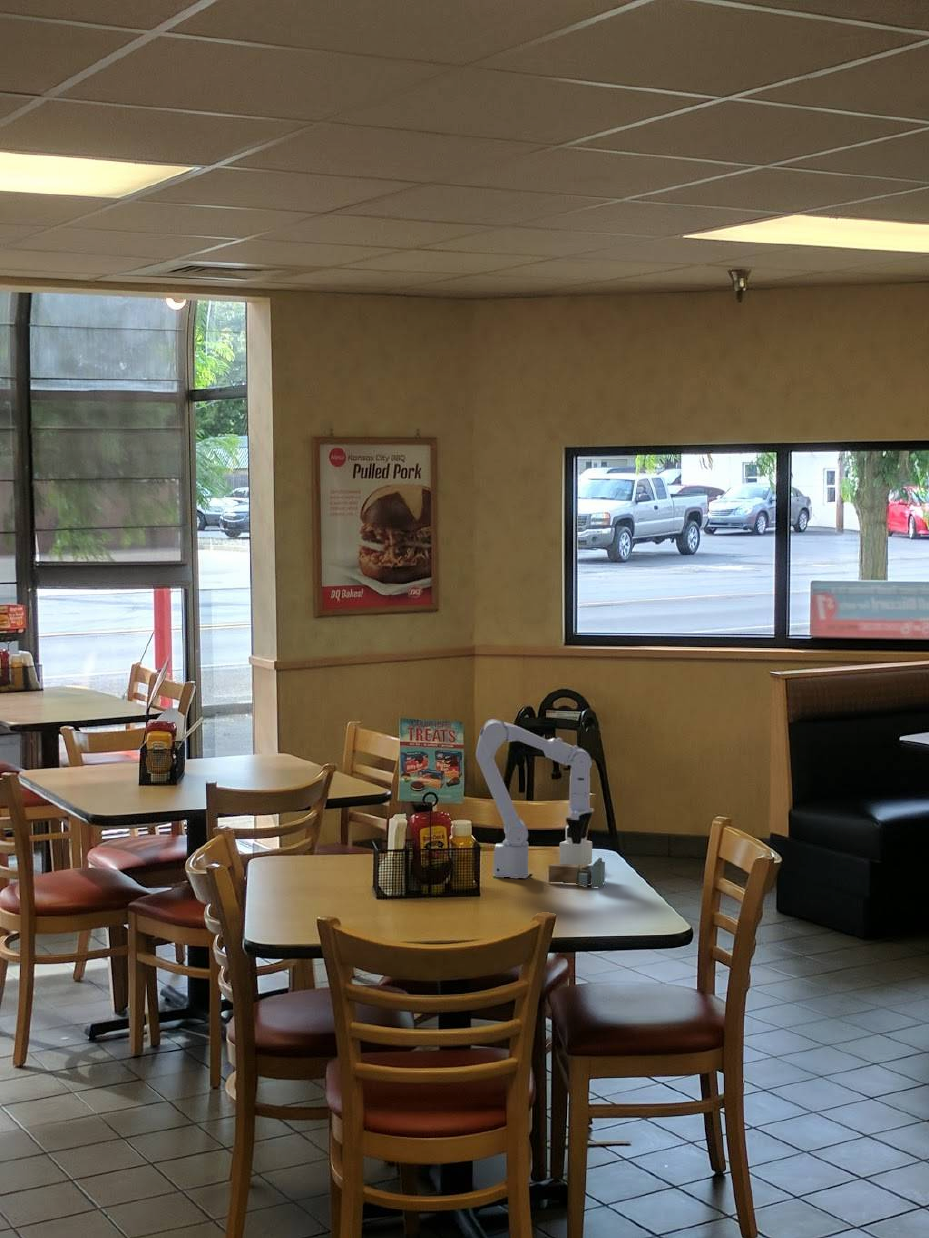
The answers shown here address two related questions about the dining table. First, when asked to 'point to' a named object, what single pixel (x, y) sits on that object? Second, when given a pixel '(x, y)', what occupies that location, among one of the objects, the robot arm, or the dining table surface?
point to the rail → (567, 873)
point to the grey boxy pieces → (594, 875)
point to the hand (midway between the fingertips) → (578, 840)
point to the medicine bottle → (575, 851)
